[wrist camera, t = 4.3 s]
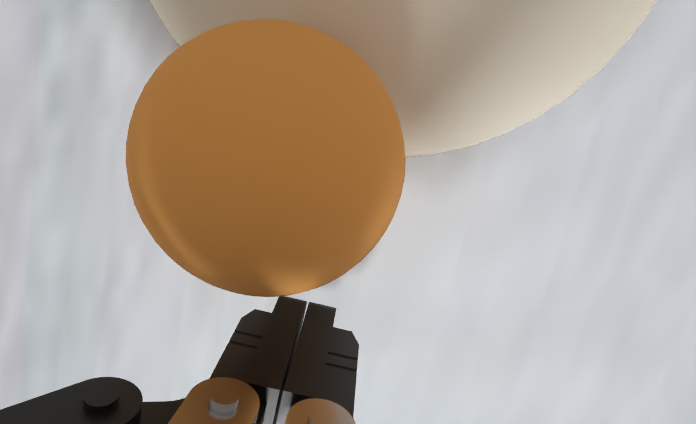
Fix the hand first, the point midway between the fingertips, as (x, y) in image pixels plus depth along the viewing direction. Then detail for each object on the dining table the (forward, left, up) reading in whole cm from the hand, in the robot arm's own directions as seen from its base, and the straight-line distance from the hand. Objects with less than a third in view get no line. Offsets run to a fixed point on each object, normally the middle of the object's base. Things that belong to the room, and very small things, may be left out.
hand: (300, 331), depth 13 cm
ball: (+2, +4, +1) cm, 5 cm away
